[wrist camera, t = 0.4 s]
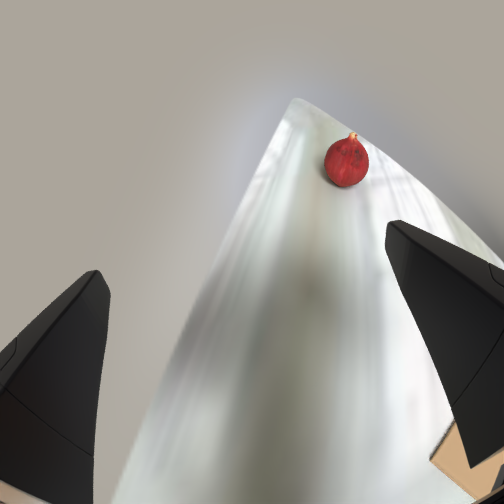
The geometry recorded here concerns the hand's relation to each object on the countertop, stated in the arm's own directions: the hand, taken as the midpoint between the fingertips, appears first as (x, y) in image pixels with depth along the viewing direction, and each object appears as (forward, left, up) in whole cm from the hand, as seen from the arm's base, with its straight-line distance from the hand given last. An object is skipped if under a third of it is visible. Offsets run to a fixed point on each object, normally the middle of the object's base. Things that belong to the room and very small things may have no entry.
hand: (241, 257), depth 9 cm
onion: (+26, -18, -16) cm, 35 cm away
